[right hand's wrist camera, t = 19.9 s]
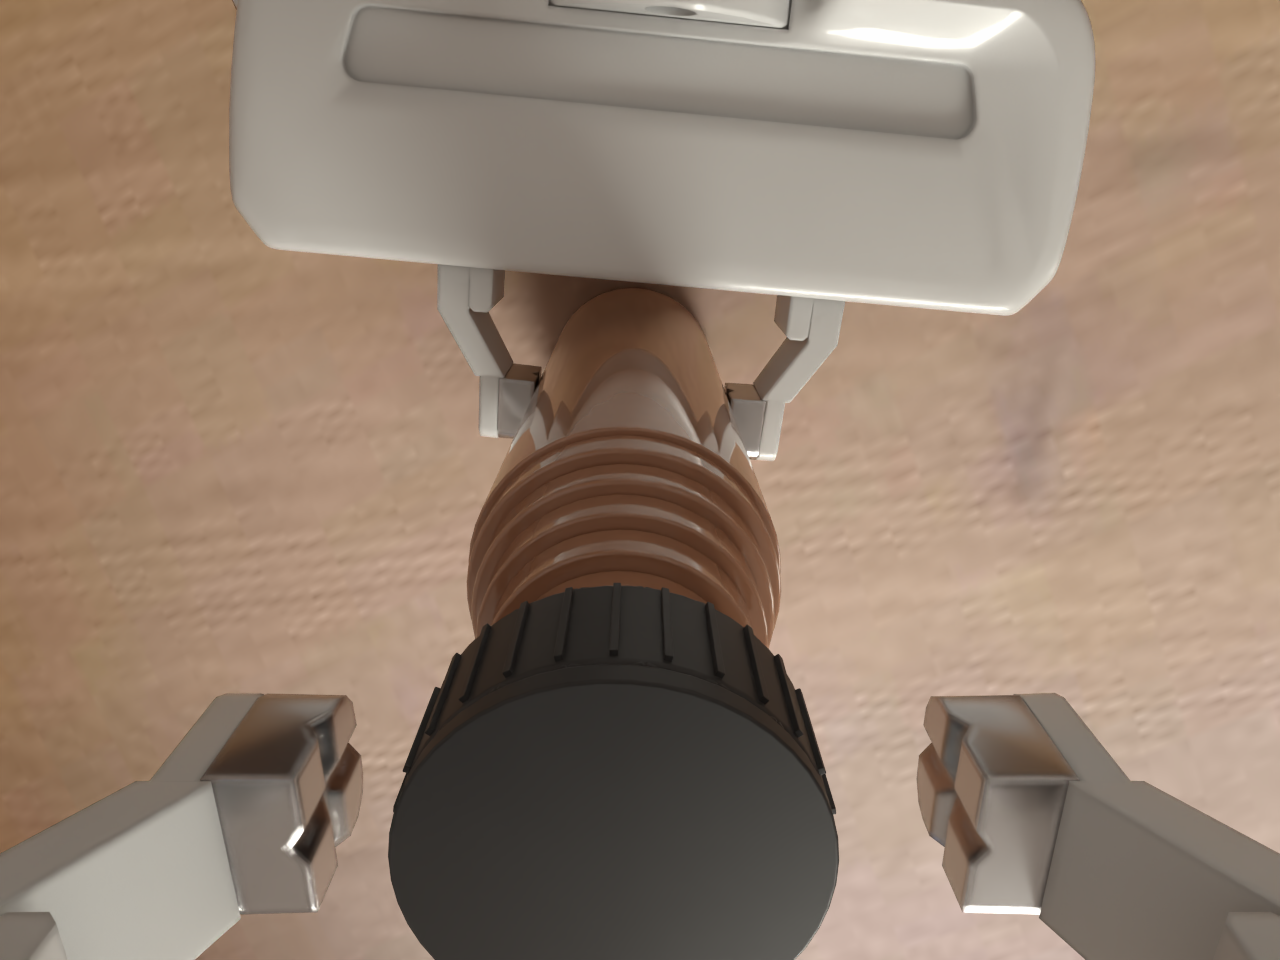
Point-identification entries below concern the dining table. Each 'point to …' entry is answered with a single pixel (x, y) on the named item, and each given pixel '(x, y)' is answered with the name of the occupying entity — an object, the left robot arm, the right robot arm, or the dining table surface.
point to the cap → (615, 791)
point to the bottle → (628, 475)
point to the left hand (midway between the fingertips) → (629, 443)
